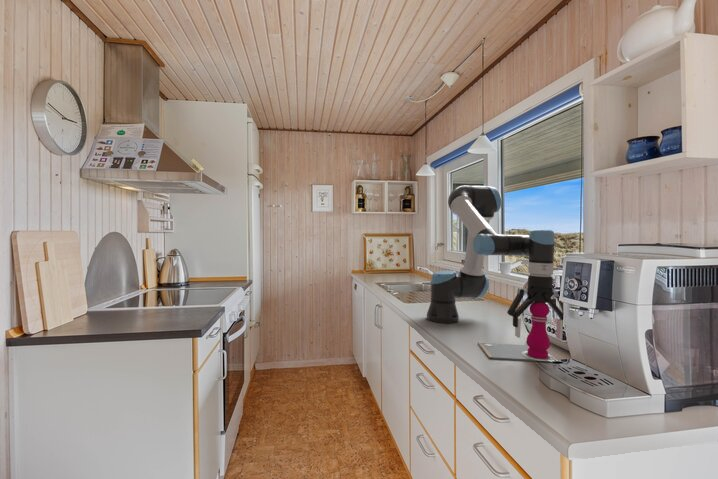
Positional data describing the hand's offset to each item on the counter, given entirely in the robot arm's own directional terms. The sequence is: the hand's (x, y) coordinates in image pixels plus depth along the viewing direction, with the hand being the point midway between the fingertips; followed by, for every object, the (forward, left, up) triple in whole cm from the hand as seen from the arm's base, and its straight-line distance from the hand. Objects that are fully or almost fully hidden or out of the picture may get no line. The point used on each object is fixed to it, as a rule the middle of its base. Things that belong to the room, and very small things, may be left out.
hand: (538, 337), depth 122 cm
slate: (-4, -6, -7) cm, 10 cm away
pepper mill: (0, 0, -6) cm, 6 cm away
